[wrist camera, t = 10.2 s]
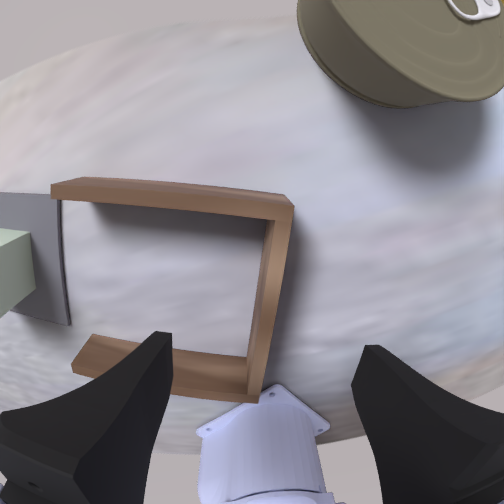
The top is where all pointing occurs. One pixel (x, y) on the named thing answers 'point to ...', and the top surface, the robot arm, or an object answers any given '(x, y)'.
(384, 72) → the can
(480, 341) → the top surface
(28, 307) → the charcoal mat
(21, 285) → the sage block
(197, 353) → the walnut u-shaped frame
